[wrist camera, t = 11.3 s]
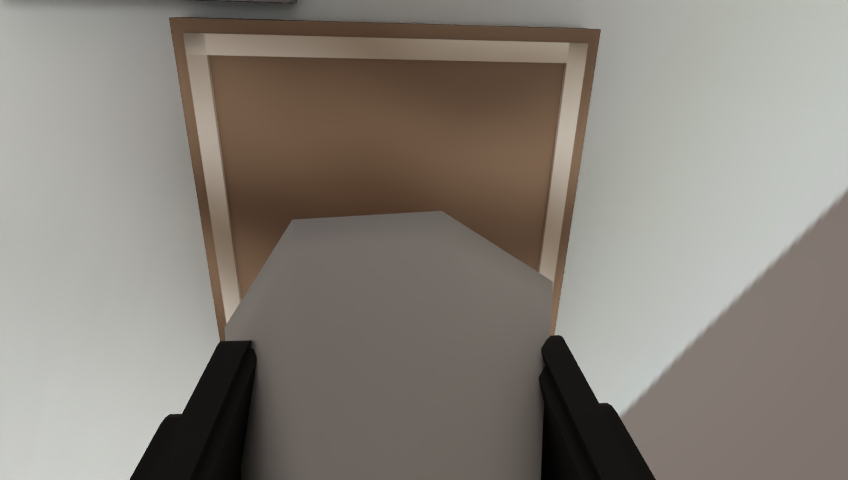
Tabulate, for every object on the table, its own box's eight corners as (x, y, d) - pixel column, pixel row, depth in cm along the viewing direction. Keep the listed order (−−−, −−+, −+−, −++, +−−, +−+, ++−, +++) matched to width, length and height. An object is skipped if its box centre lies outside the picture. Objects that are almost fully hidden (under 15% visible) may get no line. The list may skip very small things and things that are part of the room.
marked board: (187, 17, 16) (166, 17, 15) (583, 28, 17) (603, 29, 16) (236, 353, 22) (224, 379, 20) (539, 348, 23) (550, 372, 21)
